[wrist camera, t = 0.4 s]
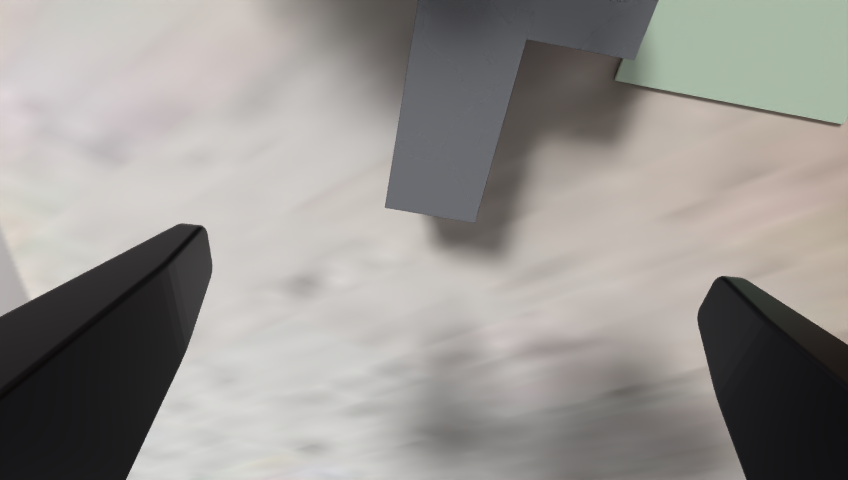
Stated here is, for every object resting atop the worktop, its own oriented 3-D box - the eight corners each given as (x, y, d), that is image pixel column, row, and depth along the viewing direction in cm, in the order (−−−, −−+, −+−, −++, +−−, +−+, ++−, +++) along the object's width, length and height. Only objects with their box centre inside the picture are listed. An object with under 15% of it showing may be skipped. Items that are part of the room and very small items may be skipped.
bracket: (440, -126, 17) (437, -117, 13) (628, -85, 17) (684, -64, 13) (397, 141, 22) (384, 207, 18) (542, 167, 22) (562, 238, 18)
